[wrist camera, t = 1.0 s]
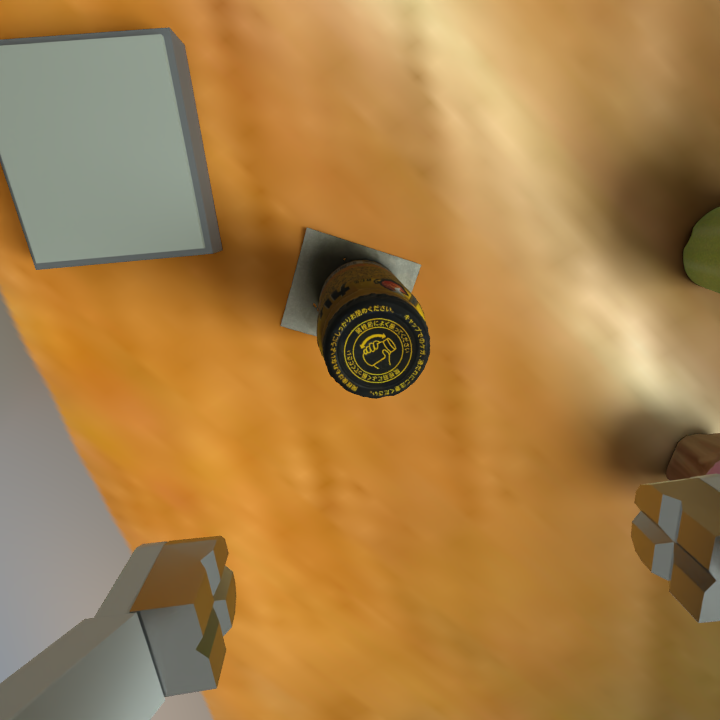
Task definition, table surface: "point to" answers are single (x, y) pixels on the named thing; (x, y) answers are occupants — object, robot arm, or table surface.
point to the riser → (104, 148)
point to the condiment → (359, 314)
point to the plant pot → (704, 252)
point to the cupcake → (695, 457)
